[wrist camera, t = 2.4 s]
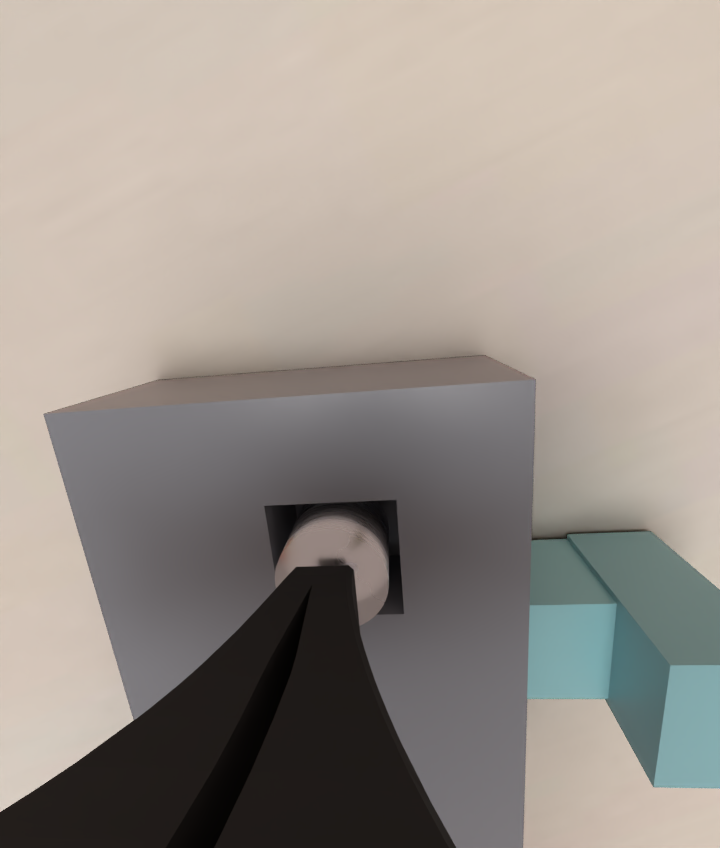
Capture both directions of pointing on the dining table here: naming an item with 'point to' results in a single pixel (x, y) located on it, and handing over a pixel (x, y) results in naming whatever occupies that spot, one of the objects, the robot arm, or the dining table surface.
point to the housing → (275, 518)
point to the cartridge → (631, 646)
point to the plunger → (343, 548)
